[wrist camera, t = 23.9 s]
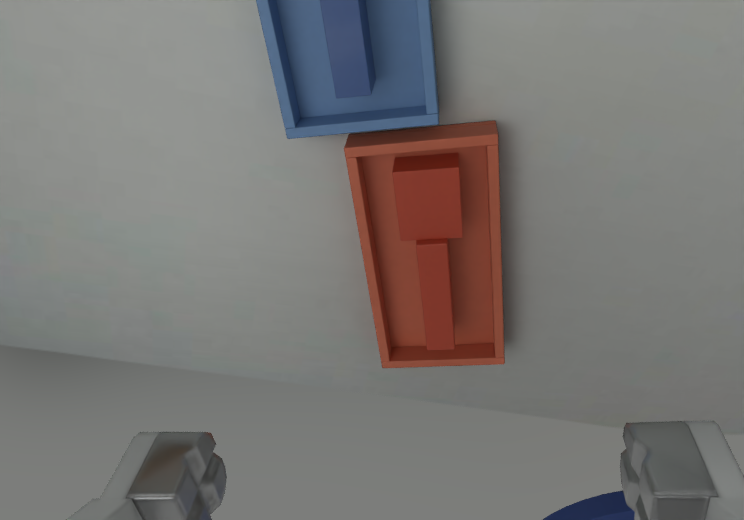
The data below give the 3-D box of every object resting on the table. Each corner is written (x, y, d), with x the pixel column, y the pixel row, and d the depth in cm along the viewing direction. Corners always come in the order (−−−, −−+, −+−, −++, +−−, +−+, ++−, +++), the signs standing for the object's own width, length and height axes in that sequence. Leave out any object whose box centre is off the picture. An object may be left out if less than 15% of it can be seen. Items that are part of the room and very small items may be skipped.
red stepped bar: (468, 324, 41) (469, 349, 39) (414, 326, 41) (412, 351, 39) (458, 152, 34) (459, 171, 32) (394, 157, 35) (391, 176, 33)
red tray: (502, 344, 42) (504, 364, 40) (384, 348, 43) (382, 368, 42) (495, 120, 33) (498, 133, 32) (348, 134, 35) (343, 148, 33)
